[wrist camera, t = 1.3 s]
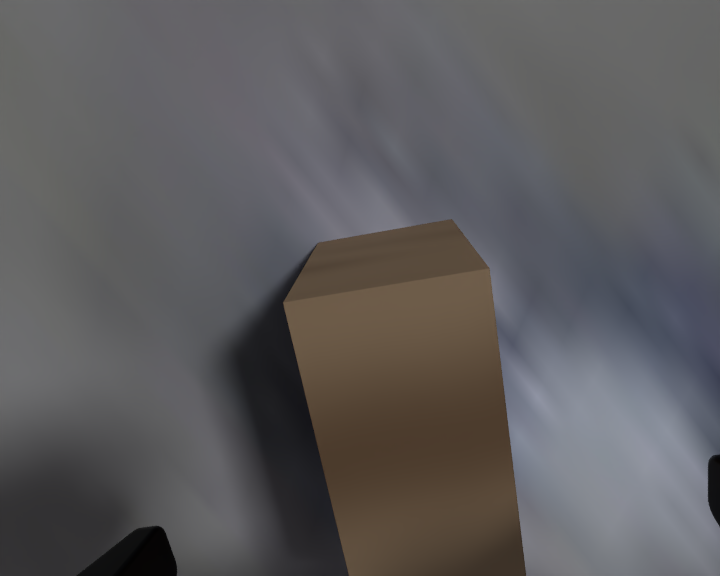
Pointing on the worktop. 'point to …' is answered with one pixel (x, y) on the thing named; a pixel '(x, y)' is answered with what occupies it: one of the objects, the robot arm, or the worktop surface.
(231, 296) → the worktop surface
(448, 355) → the walnut brick
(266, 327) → the worktop surface
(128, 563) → the robot arm
